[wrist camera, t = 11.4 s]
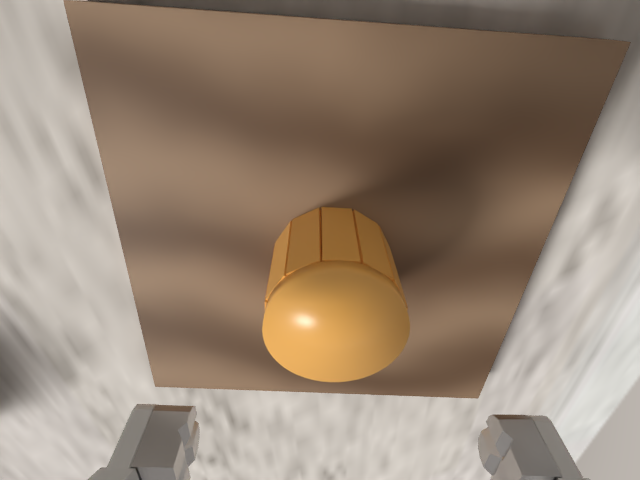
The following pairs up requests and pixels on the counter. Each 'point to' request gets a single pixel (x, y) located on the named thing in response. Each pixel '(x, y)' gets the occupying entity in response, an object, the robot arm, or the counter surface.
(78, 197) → the counter surface
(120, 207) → the post board
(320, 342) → the wire cap
